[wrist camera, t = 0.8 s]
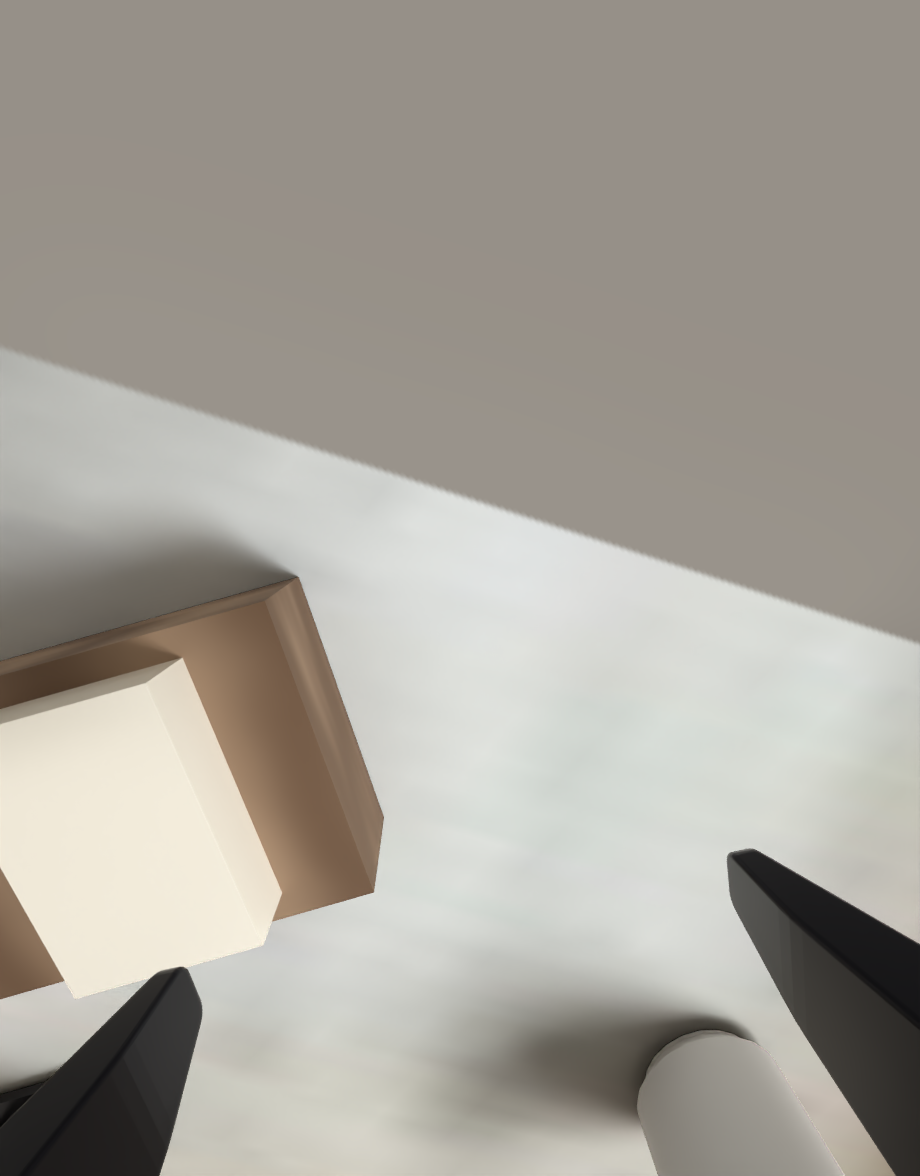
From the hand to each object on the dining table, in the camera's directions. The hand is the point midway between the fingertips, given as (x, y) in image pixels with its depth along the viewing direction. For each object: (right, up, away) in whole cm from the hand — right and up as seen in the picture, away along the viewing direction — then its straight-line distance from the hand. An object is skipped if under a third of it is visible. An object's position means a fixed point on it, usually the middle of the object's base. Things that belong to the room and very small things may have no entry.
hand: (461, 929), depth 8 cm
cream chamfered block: (-10, -2, +8) cm, 13 cm away
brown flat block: (-12, -1, +12) cm, 17 cm away
